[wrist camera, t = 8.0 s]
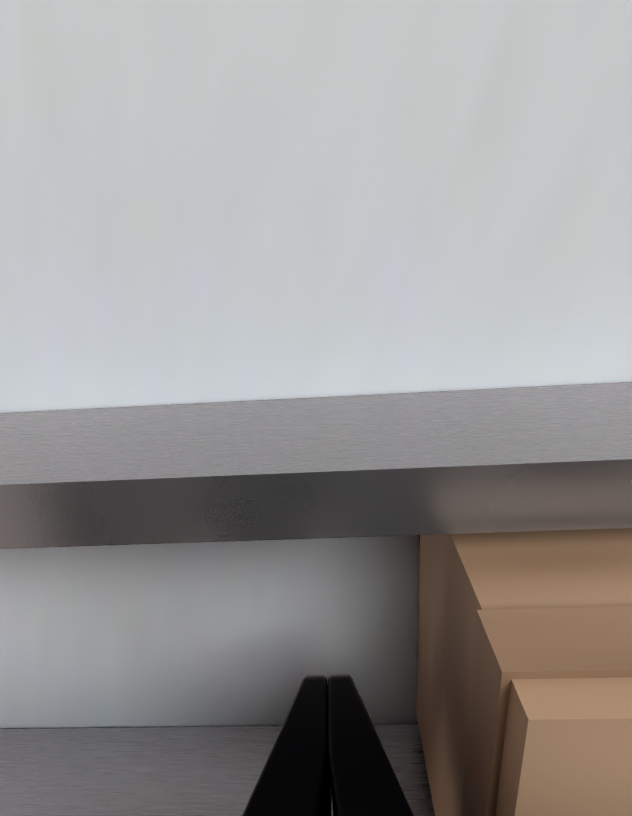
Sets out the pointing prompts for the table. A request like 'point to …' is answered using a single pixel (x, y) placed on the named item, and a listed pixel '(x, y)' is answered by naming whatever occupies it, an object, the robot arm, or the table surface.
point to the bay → (284, 536)
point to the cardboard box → (526, 672)
